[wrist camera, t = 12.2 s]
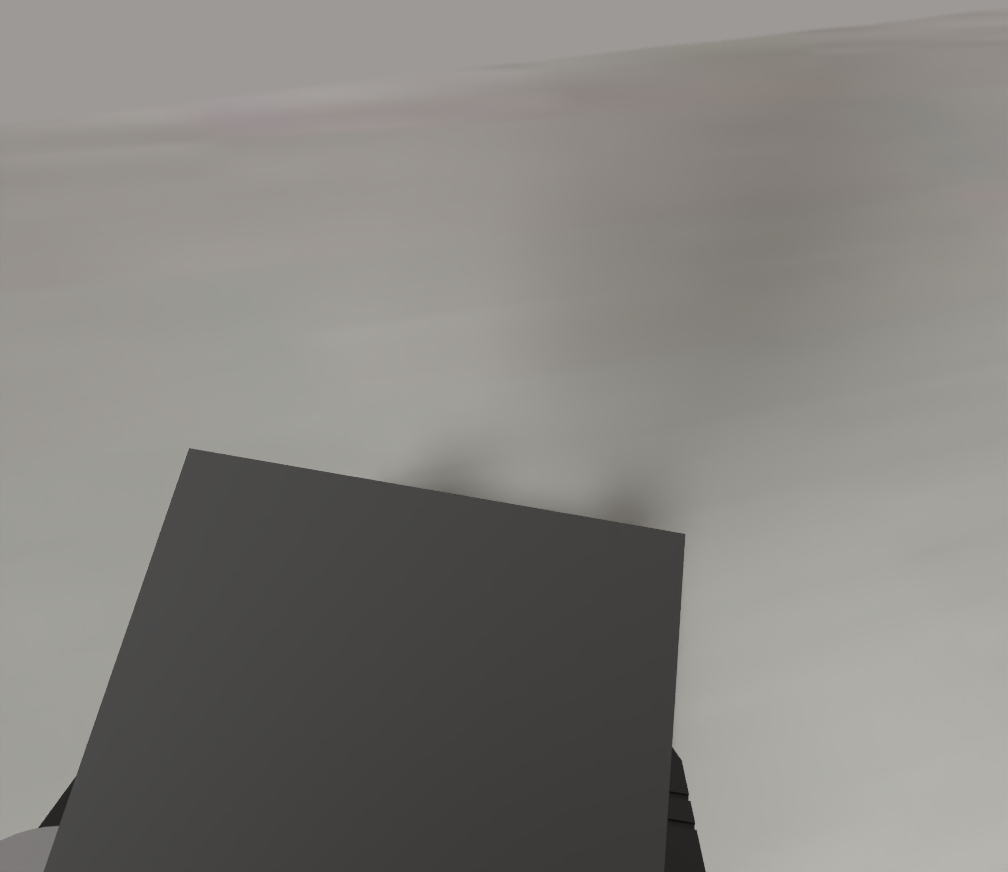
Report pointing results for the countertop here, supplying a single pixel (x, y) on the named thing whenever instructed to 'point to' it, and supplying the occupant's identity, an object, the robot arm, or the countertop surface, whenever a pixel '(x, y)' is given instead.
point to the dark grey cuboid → (382, 686)
